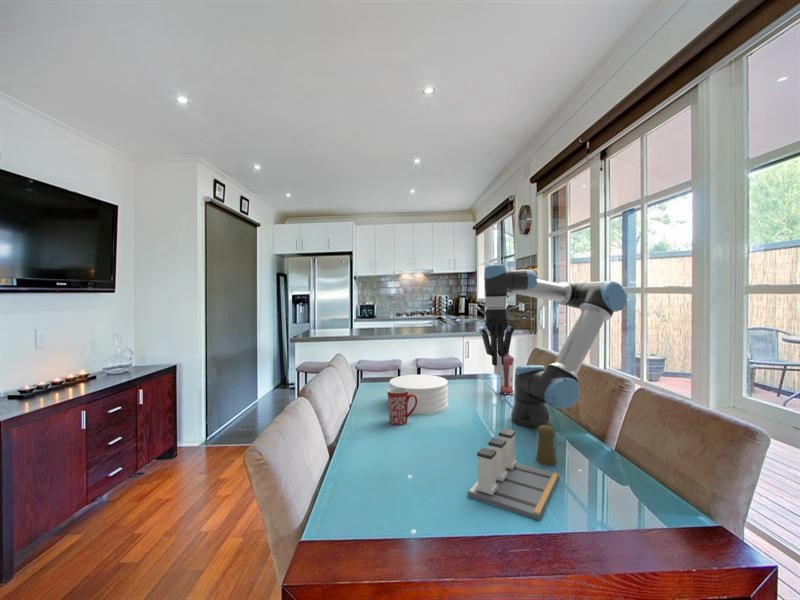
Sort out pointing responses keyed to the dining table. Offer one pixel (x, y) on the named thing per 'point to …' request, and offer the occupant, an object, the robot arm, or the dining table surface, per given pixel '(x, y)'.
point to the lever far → (487, 471)
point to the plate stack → (424, 392)
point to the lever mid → (499, 457)
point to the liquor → (507, 374)
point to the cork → (546, 446)
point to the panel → (521, 491)
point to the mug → (399, 405)
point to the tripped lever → (509, 446)
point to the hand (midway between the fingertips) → (498, 374)
